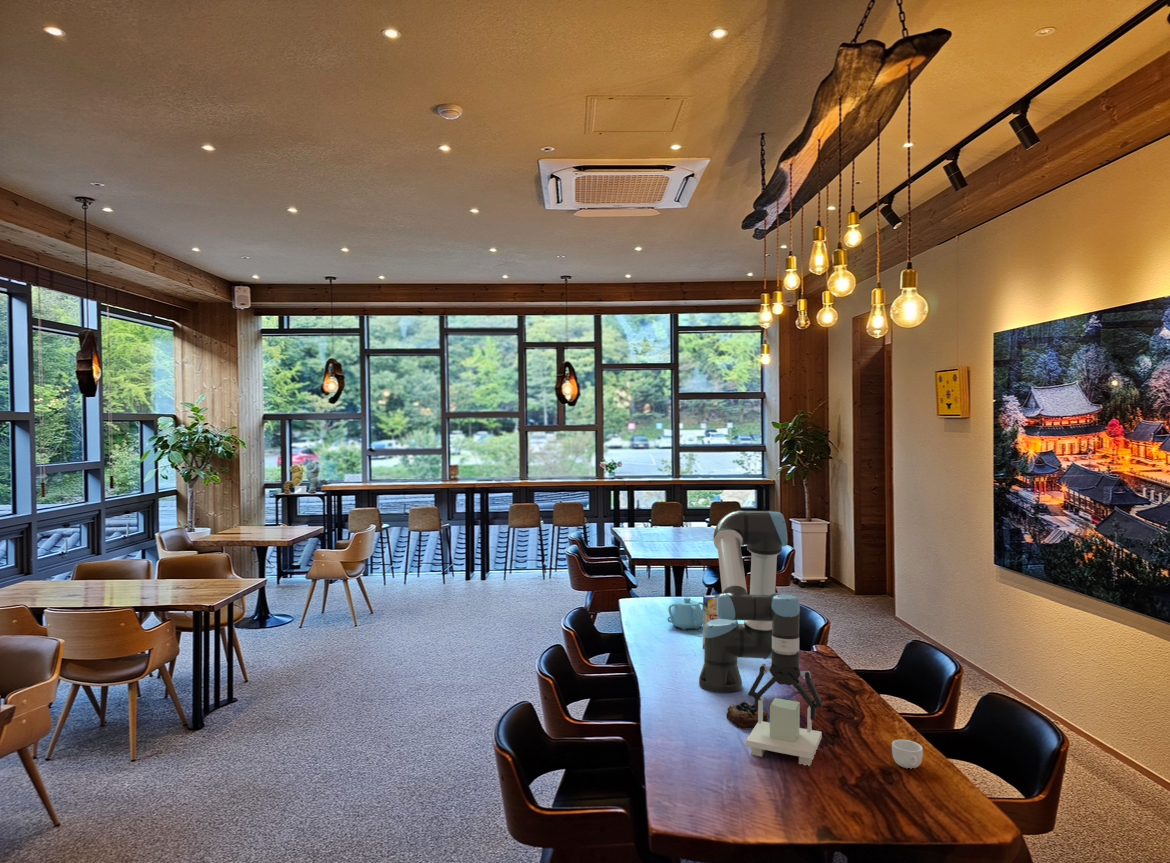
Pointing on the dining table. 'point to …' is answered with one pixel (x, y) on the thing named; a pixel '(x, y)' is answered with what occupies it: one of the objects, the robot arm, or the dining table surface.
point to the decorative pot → (686, 614)
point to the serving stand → (784, 743)
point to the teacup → (907, 753)
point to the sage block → (784, 720)
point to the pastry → (744, 715)
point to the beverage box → (709, 611)
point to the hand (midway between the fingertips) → (784, 726)
